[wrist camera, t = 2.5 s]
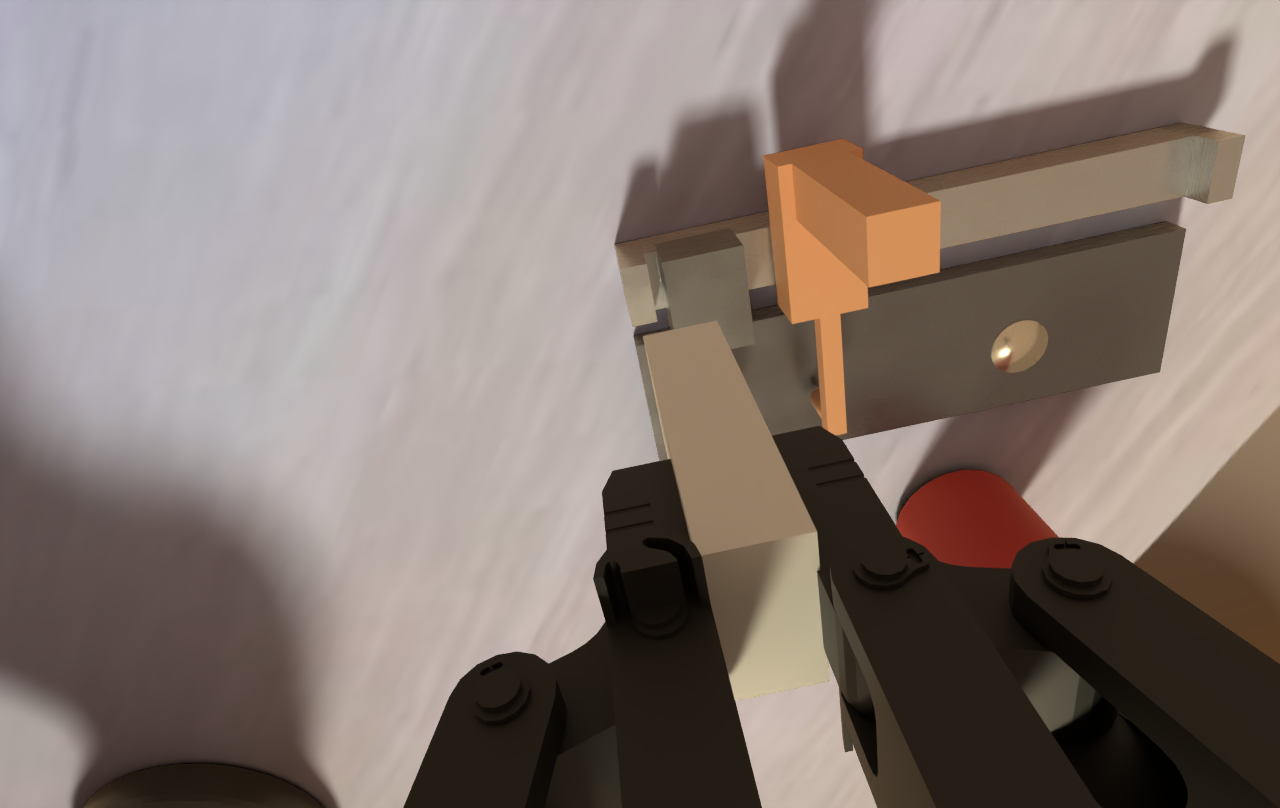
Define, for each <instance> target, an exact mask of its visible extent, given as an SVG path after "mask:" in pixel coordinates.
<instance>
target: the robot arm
mask: <svg viewBox="0 0 1280 808" xmlns="http://www.w3.org/2000/svg"><path fill="white" fill-rule="evenodd" d="M643 340H644V345H645V350H646V355H647V360H648V365H649V370H650V375H651V380H652V385H653V390H654V394H655V399H656V404H657V409H658V414H659V419H660V424H661V429H662V434H663V439H664V444H665V449H666V453H667V458H668V459H667V460H663V461H658V462H653V463H648V464H643V465H639V466H634V467H629V468H624V469H620V470H615V471H612V473H611V475H610V477H609V479H608V481H607V483H606V485H605V487H604V489H603V491H602V497H603V509H604V516H605V517H604V520H605V531H606V543H607V550H606V552H605V553H604V554H603V556H602V557H601V558H600V560H599V561H598V562H597V564H596V568H595V573H594V578H593V580H594V583H595V586H596V590H597V593H598V597H599V600H600V604H601V607H602V610H603V614H604V617H605V621H606V622H605V623H604V625H603V626H602V627H601V629H600V630H599V632H598V633H597V634H596V635H595V636H594V637H593V638H592V639H590V640H589V641H588V642H587V643H586V644H584V645H583V646H581V647H580V648H578V649H576V650H575V651H573V652H571V653H569V654H567V655H565V656H563V657H561V658H559V659H557V660H555V661H553V662H551V663H549V664H548V663H547V662H545V661H544V660H542V659H541V658H539V657H538V656H536V655H535V654H528V653H522V652H512V653H506V654H501V655H496V656H494V657H492V658H490V659H488V660H486V661H484V662H482V663H480V664H478V665H476V666H475V667H474V668H473V669H472V670H470V671H469V672H468V673H467V674H466V675H465V676H464V677H462V678H461V679H460V681H459V682H458V684H457V686H456V687H455V689H454V690H453V692H452V693H451V695H450V697H449V699H448V701H447V704H446V706H445V709H444V711H443V713H442V716H441V718H440V721H439V723H438V725H437V728H436V730H435V733H434V735H433V737H432V740H431V742H430V745H429V747H428V750H427V752H426V754H425V757H424V759H423V762H422V764H421V766H420V769H419V771H418V774H417V776H416V778H415V781H414V783H413V786H412V788H411V791H410V793H409V795H408V798H407V800H406V803H405V805H404V807H403V808H762V806H761V802H760V798H759V794H758V790H757V786H756V782H755V779H754V775H753V771H752V767H751V763H750V759H749V755H748V751H747V747H746V743H745V739H744V735H743V731H742V727H741V723H740V719H739V715H738V711H737V707H736V703H735V701H737V700H742V699H747V698H751V697H756V696H761V695H766V694H771V693H776V692H781V691H785V690H790V689H795V688H800V687H805V686H810V685H814V684H819V683H824V682H829V681H830V678H829V666H828V660H829V663H830V665H831V668H832V670H833V673H834V675H835V678H836V680H837V683H838V685H839V694H840V707H841V721H842V734H843V742H844V749H845V752H848V751H853V745H854V748H855V750H856V753H857V756H858V758H859V761H860V763H861V766H862V769H863V771H864V774H865V776H866V779H867V782H868V784H869V787H870V789H871V792H872V795H873V797H874V800H875V802H876V805H877V808H1280V664H1279V663H1277V662H1276V661H1274V660H1273V659H1271V658H1270V657H1268V656H1267V655H1266V654H1264V653H1263V652H1261V651H1260V650H1258V649H1257V648H1255V647H1254V646H1252V645H1251V644H1249V643H1248V642H1247V641H1245V640H1244V639H1242V638H1241V637H1239V636H1238V635H1236V634H1235V633H1234V632H1232V631H1230V630H1229V629H1228V628H1226V627H1225V626H1223V625H1222V624H1220V623H1219V622H1218V621H1216V620H1215V619H1213V618H1212V617H1210V616H1209V615H1207V614H1206V613H1204V612H1203V611H1201V610H1200V609H1199V608H1197V607H1196V606H1194V605H1193V604H1191V603H1190V602H1188V601H1187V600H1185V599H1184V598H1182V597H1181V596H1180V595H1178V594H1177V593H1175V592H1174V591H1172V590H1171V589H1169V588H1168V587H1167V586H1165V585H1164V584H1162V583H1161V582H1159V581H1158V580H1156V579H1155V578H1153V577H1152V576H1151V575H1149V574H1147V573H1146V572H1145V571H1143V570H1142V569H1140V568H1139V567H1137V566H1136V565H1134V564H1133V563H1132V562H1130V561H1129V560H1127V559H1126V558H1124V557H1123V556H1121V555H1120V554H1118V553H1116V552H1114V551H1112V550H1110V549H1108V548H1106V547H1104V546H1102V545H1100V544H1097V543H1093V542H1089V541H1085V540H1081V539H1077V538H1055V537H1051V538H1047V539H1043V540H1038V541H1034V542H1031V543H1029V544H1028V545H1027V546H1025V547H1024V548H1022V549H1021V550H1019V551H1018V552H1017V554H1016V556H1015V558H1014V561H1013V563H1012V565H1011V568H986V567H967V566H958V565H952V564H948V563H944V562H941V561H938V560H937V558H936V557H935V556H934V555H933V554H932V553H931V552H930V551H929V550H928V549H927V548H926V547H925V546H923V545H921V544H919V543H917V542H915V541H913V540H911V539H908V538H906V537H903V536H902V535H901V533H900V531H899V530H898V528H897V527H896V525H895V523H894V522H893V520H892V519H891V517H890V515H889V514H888V512H887V511H886V509H885V507H884V506H883V504H882V503H881V501H880V499H879V498H878V496H877V495H876V493H875V491H874V490H873V488H872V487H871V485H870V483H869V482H868V480H867V479H866V478H864V474H863V472H862V471H861V469H860V468H859V466H858V464H857V463H856V462H854V458H853V456H852V455H851V453H850V452H849V450H848V448H847V447H846V445H845V444H844V442H843V440H842V439H840V438H839V437H837V436H836V435H834V434H832V433H831V432H829V431H827V430H826V429H824V428H823V427H821V426H815V427H810V428H805V429H801V430H796V431H791V432H786V433H781V434H777V435H771V433H770V431H769V429H768V427H767V425H766V423H765V421H764V419H763V416H762V414H761V412H760V410H759V408H758V406H757V404H756V402H755V400H754V398H753V395H752V393H751V391H750V389H749V387H748V385H747V383H746V381H745V379H744V376H743V374H742V372H741V370H740V368H739V366H738V364H737V362H736V360H735V358H734V355H733V353H732V351H731V349H730V347H729V345H728V343H727V341H726V339H725V336H724V334H723V332H722V330H721V328H720V326H719V324H718V322H717V321H712V322H707V323H702V324H698V325H693V326H688V327H684V328H679V329H674V330H669V331H665V332H660V333H655V334H650V335H646V336H643ZM82 808H323V807H322V806H321V805H320V804H319V803H318V802H317V801H316V800H314V799H313V798H312V797H311V796H309V795H308V794H306V793H305V792H303V791H302V790H300V789H298V788H297V787H295V786H293V785H291V784H289V783H287V782H284V781H282V780H280V779H277V778H275V777H272V776H269V775H266V774H263V773H259V772H256V771H252V770H248V769H243V768H238V767H232V766H225V765H215V764H177V765H167V766H160V767H155V768H150V769H146V770H141V771H138V772H135V773H132V774H129V775H126V776H123V777H121V778H119V779H117V780H115V781H113V782H111V783H109V784H107V785H106V786H104V787H103V788H101V789H100V790H98V791H97V792H96V793H95V794H94V795H92V796H91V797H90V798H89V799H88V801H87V802H86V803H85V804H84V806H83V807H82Z"/></svg>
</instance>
